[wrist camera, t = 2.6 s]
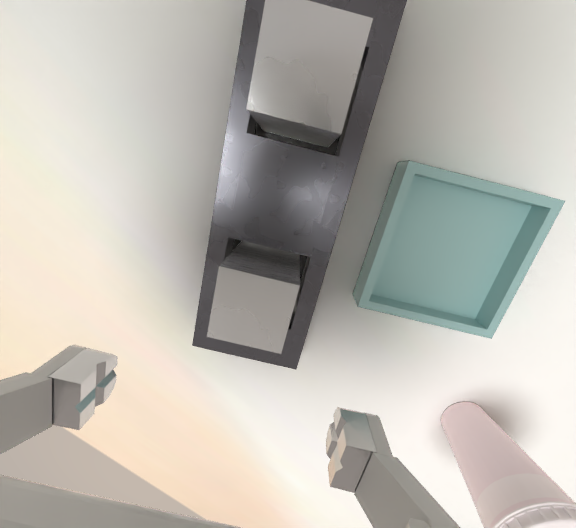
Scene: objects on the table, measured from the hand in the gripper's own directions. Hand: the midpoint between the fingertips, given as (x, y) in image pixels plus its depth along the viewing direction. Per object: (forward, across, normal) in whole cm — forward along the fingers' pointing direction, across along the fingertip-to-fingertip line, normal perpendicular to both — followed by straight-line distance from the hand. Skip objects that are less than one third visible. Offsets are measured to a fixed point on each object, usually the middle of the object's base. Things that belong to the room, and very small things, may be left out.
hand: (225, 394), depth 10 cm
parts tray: (+12, -12, -6) cm, 18 cm away
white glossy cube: (+12, 0, -13) cm, 17 cm away
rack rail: (+12, 0, -7) cm, 14 cm away
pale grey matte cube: (+12, 0, -1) cm, 12 cm away
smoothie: (+13, -20, +8) cm, 25 cm away
